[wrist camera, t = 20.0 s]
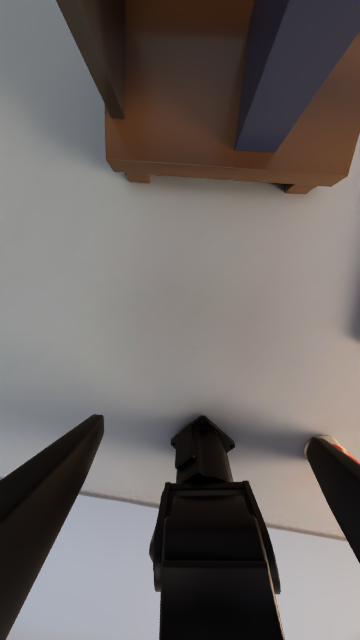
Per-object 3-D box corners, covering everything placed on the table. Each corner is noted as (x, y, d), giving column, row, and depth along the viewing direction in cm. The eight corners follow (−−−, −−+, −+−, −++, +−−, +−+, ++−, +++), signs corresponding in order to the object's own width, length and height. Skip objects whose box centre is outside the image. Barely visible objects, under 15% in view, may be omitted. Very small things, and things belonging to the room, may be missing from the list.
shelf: (309, 200, 16) (547, 48, 5) (124, 187, 17) (10, 21, 6) (345, 45, 13) (944, -838, 3) (124, 34, 14) (-82, -774, 3)
